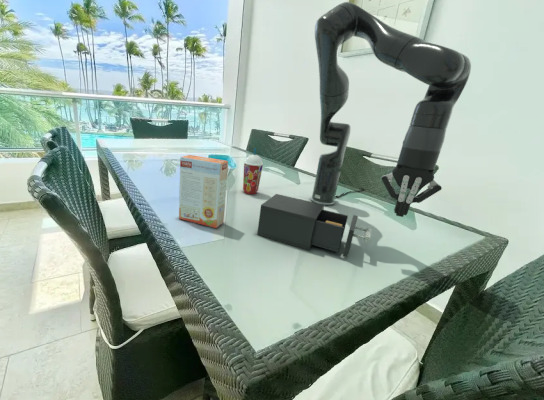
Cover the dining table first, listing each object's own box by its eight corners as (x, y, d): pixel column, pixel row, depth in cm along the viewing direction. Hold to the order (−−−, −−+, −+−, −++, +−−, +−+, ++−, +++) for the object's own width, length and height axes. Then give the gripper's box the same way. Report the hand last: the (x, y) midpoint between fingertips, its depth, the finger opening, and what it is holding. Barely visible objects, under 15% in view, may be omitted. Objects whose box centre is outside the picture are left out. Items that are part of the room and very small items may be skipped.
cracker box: (224, 222, 90) (229, 160, 83) (216, 229, 85) (220, 163, 78) (187, 213, 95) (190, 153, 88) (178, 219, 90) (179, 156, 83)
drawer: (367, 243, 81) (373, 219, 78) (364, 263, 70) (372, 235, 68) (303, 227, 89) (308, 204, 87) (293, 241, 79) (298, 216, 76)
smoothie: (263, 193, 124) (268, 149, 117) (251, 196, 118) (257, 150, 111) (248, 188, 129) (253, 146, 122) (237, 191, 123) (241, 147, 116)
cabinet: (318, 232, 88) (324, 204, 85) (309, 250, 76) (315, 218, 73) (272, 220, 95) (276, 193, 92) (257, 234, 83) (260, 204, 80)
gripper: (389, 144, 63) (370, 213, 69) (460, 153, 58) (433, 227, 63) (388, 142, 70) (371, 205, 75) (452, 149, 64) (428, 217, 70)
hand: (399, 215), depth 69 cm, fingers closed
